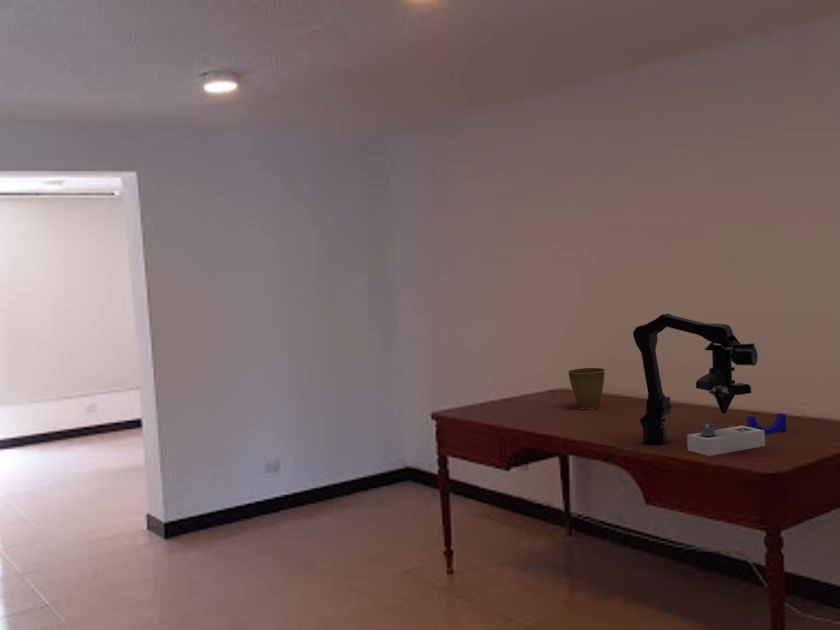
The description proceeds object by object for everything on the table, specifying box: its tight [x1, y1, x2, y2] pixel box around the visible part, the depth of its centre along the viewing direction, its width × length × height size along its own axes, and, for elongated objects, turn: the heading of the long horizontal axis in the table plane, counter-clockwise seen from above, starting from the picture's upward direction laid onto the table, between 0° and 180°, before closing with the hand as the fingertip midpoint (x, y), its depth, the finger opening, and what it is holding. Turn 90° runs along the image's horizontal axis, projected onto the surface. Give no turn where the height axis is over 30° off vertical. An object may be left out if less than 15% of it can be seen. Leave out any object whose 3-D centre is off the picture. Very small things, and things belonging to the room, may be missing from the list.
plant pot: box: [567, 367, 606, 409], centre depth 357 cm, size 15×15×16 cm
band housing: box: [686, 425, 766, 457], centre depth 273 cm, size 10×22×5 cm, turn 112°
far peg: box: [736, 428, 750, 432], centre depth 275 cm, size 4×4×5 cm
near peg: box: [700, 423, 715, 438], centre depth 270 cm, size 4×4×5 cm
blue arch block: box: [746, 412, 787, 435], centre depth 291 cm, size 12×4×6 cm, turn 94°
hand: (723, 413), depth 272 cm, fingers closed
